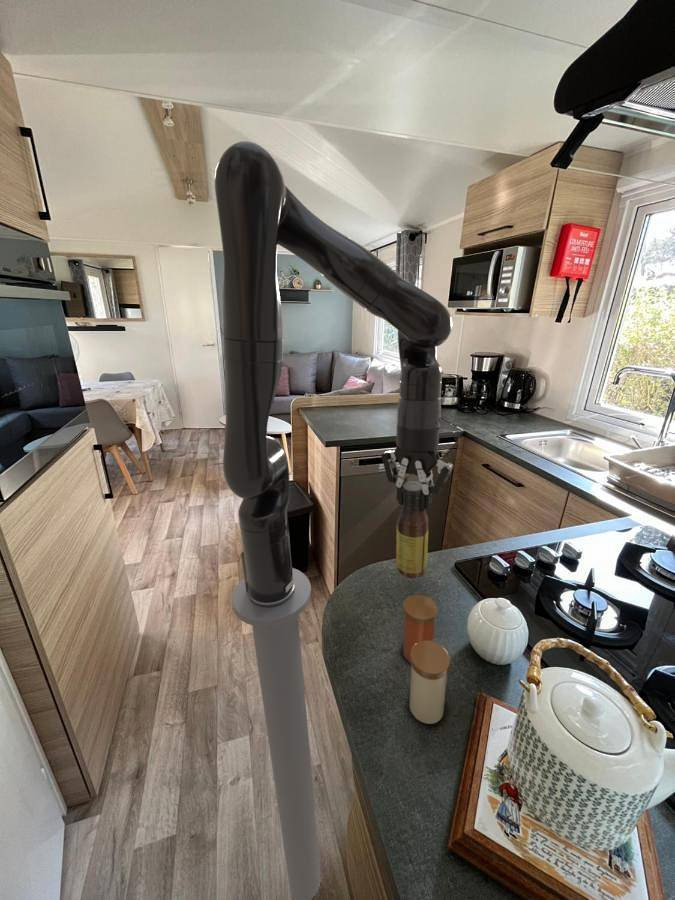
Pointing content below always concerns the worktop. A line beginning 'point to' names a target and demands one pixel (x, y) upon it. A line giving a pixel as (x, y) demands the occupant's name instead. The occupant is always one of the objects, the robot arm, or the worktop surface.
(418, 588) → the worktop surface
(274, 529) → the robot arm
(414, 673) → the cream jar
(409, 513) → the sauce bottle
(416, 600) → the terracotta jar
